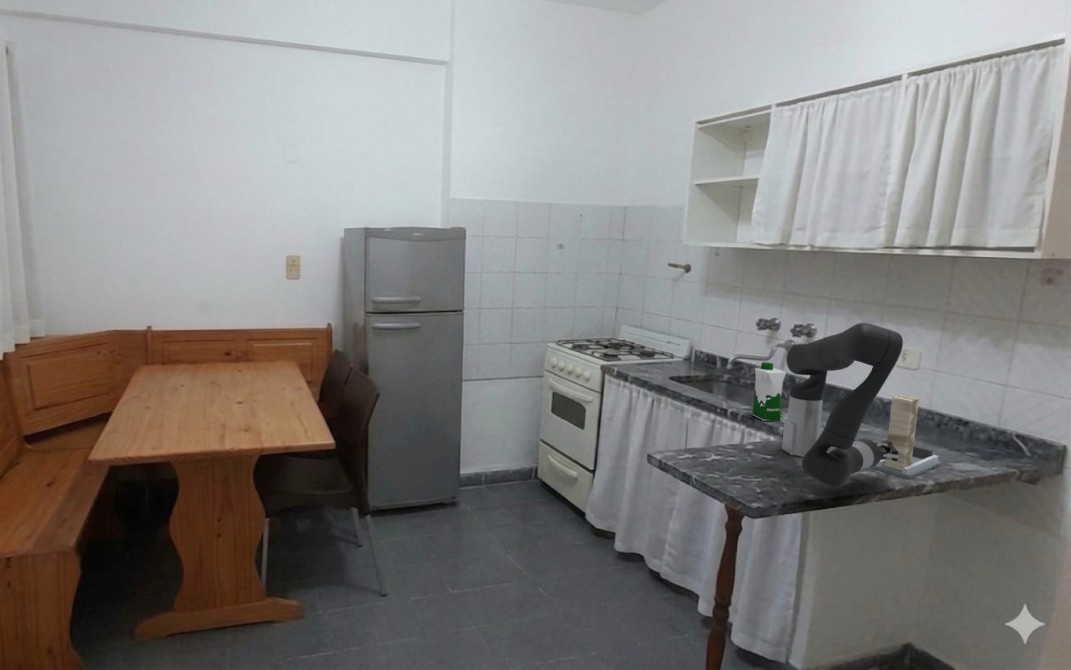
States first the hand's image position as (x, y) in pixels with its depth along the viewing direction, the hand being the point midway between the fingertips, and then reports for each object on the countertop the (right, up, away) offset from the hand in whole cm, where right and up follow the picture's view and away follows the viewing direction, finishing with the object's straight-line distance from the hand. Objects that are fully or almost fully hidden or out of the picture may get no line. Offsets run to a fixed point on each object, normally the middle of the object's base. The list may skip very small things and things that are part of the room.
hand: (888, 444), depth 179 cm
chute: (+11, -8, +10) cm, 17 cm away
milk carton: (-13, 0, +57) cm, 59 cm away
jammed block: (+6, -7, +6) cm, 11 cm away
